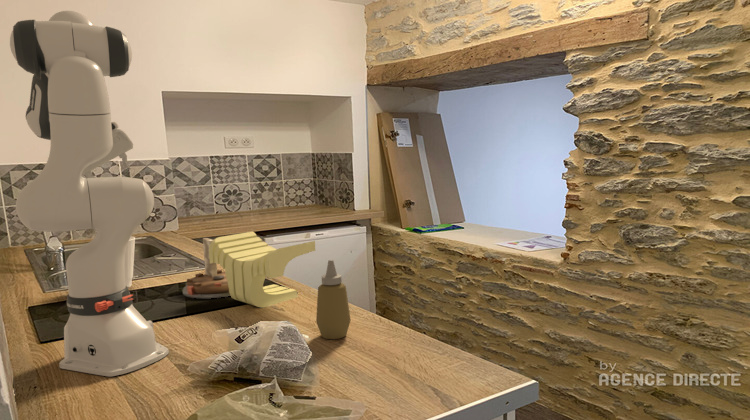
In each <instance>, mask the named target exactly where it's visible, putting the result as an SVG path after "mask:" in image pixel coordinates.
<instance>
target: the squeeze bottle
mask: <svg viewBox="0 0 750 420" xmlns="http://www.w3.org/2000/svg"><path fill="white" fill-rule="evenodd" d="M342 282H343V276H342V275H341V274H340V273H337V269H336V266H335V261H334V259H329V260H328V262H327V267H326V272H325V274H323V275H321V284H319V286H318V287H317V297H316V298H317V300H316V304H317V305H316V318H315V322H316V325H317V328H318V330H319V332H320V336H321V337H322V338H323V339H327V340H338V339H343V338H344V337H346V336H347V335H348V330H349V327H350V324H351V320H352V319H351V312H350V307H349V300H348V298H349V297H348V291H347V286H346V285H345V284H344V283H342Z"/></svg>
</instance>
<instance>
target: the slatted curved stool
mask: <svg viewBox="0 0 750 420" xmlns="http://www.w3.org/2000/svg"><path fill="white" fill-rule="evenodd" d="M212 240H213V241H212V242H211V244H210V247H209V259H210V264H211V263H216V264H217V265H219V266H221V268H222V270H225V271H224V272H225V273H226V277H227V281H228V286H229V293H230V296H231V299H234V300H235V301H238V302H242V303H245V304H248V305H252V306H254V307H257V308H263V309H264V308H268V307H270V306H274V305H276V304H281V303H284V302H286V301H290V300H294V299H297V298H299V294H298V291H297V289H294V288H289V287H285V286H282V285H281V286H280V285H279V284H276V283H275V284H269V285H265V286H264V282H265V279H266V278H268V279H275V278H279V277H283V276H284V274H285V269H286V267H287V265H288V264H289V262H291V261H292V260H293V259H296V258H297V257H301V256H303V255H306V254H309V253H313V252H315V251H316V240H313V241H309V242H304V243H299V244H294V245H289V246H285V247H280V248H275V247H273V246H271V245H269V244H268V243H266V242H265V241H263V239H262V238H260V237H259V236H257V234H256V232H254V231H247V232H241V233H236V234H235V233H234V234H230V235H225V236H224V235H223V236H218V237H216V238H214V239H212Z"/></svg>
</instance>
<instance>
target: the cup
mask: <svg viewBox="0 0 750 420" xmlns="http://www.w3.org/2000/svg"><path fill="white" fill-rule="evenodd" d="M135 244H136V237H135V236H131V237H130V239H129V241H128V243H127V246H126V250H125V260H124V268H125V284H126V286H127V287H128V288H130V287H132V283H133V282H132V279H133V278H134V263H135Z"/></svg>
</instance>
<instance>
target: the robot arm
mask: <svg viewBox="0 0 750 420" xmlns="http://www.w3.org/2000/svg"><path fill="white" fill-rule="evenodd" d="M9 47H10V51H11V54H12V56H13V57H14V59H15V61H17V65H18V66H20V67H21V68H22V69H23V70H24V71H25V72H26V73H30V74H33V75H32V79H31V88H30V96H29V97H30V98H29V105H28V106H27V109H26V111H25V120H26V123H27V125H28V127H29V129H30V130H31V131H32V132H33V134H34V135H35V136H36V137H38V138H40V139H44V140H49V141H50V149H49V154H48V157H47V161H46V163H45V165H44V167H43V169H42V170H41V171H40V172H39V174H38V175H37V176H36V177H35V178H34V179H32V180H31V181H30V182H28V184H26V185H24V186H23V188H22V189H21V190H20V191H19V193H18V195H17V198H16V201H15V212H16V215H17V217H18V219H19V221H20V222H21V223H22V225H24V227H26V228H27V229H29V230H30V231H35V232H43V233H44V232H46V233H61V232H72V231H83V230H95V231H96V234H95V236H94V238H92V240H91V241H89V242H87V243H85V244H83V245H82V246H79V248H76V249H75V250H74V251H72V252H71V254H69V256H68V257H67V259H66V261H65V262H66V263H65V270H66V272H65V273H66V279H67V280H66V281H67V289H68V294H67V295H66V306H67V312H69V317H68V318H67V319H68V320H67V322H66V324H65V325H64V327H63V340H64V341H63V343H64V344H63V346H64V350H63V351H64V358H63V359H62V360H60V362H59V363H58V365H59V369H62V370H68V371H74V372H80V373H86V374H91V375H98V376H103V377H104V376H105V377H108V378H109V377H115V376H119V375H124V374H127V373H130V372H131V373H132V372H134V371H137V370H139V369H142V368H144V367H147V366H149V365H151V364H154V363H155V362H158V361H160V360H161V359H163V358H165V357H166V356H167V355H168V354H169V353H170V352H169V348H168V347H166V346H164V345H162V344H161V343H159V342H157V341H156V335H155V330H154V323H153V321H152V320H146V318H144V316H143V315H142V314H141V313H140V311H138V310H137V309H136V308H135V307H134V305H133V303H134V302H133V300H134V298H132V297H133V296H134V294H131V291H130V289H129V287H127V286H126V284H125V268H124V260H125V250H126V246H127V243H128V241H129V239H130V237H132V235H133V234H134V232H135V231H136V230H137V228H138V227H139V226H140V225H141V224H143V223H144V222H145V221H147V219H148V218H149V217H150V216H151V214H152V212H153V210H154V207H155V197H154V193H153V190H152V188H151V187H150V185H149V184H148V183H147V182H146V181H145V180H144V179H142V178H137V177H136V178H135V177H128V176H119V175H117V176H103V177H95V176H93V172H92V171H93V170H95V169H96V168H98V167H101V166H102V165H105V164H106V163H108V162H110V161H112V160H114V159H115V158H118V157H119V158H120V159H122V160H121V162H122V163H121V164H120V167H121V168H122V169H123V170H124V171H126V170H127V169H129V168H130V165H129V163H128V156H127V154H126V153H127V152H128V151H131V150H133V149H134V143H133V141H132V139H131V138H130V137H129V135H128V134H127V133H126V132H125V131H124V130H123V129H121V128H119V127H120V126H119V124H118V123H117V122H116V121H112V115H111V106H110V97H109V92H108V87H107V84H106V80H105V77H109V78H115V77H116V78H117V77H122V76H125V75H126V74H127V73H128V71H129V70H130V66H131V63H132V60H133V59H132V58H133V52H132V51H133V50H132V48H131V44H130V42H129V41H128V38H127V35H125V33H123V32H122V30H119V29H117V28H115V27H110V26H104V27H103V26H98V25H93V23H92V22H91V21H90V19H89V18H87V16H85V15H83V14H81V13H79V12H78V11H74V10H62V11H57V12H55V13H54V14H53V15H52V16H51V17H50V18H49V20H36V19H25V20H19V21H17V22H16V23H15V24H14V25H13V26H12V31H11V33H10V36H9ZM83 175H84V176H85V177H83Z"/></svg>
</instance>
